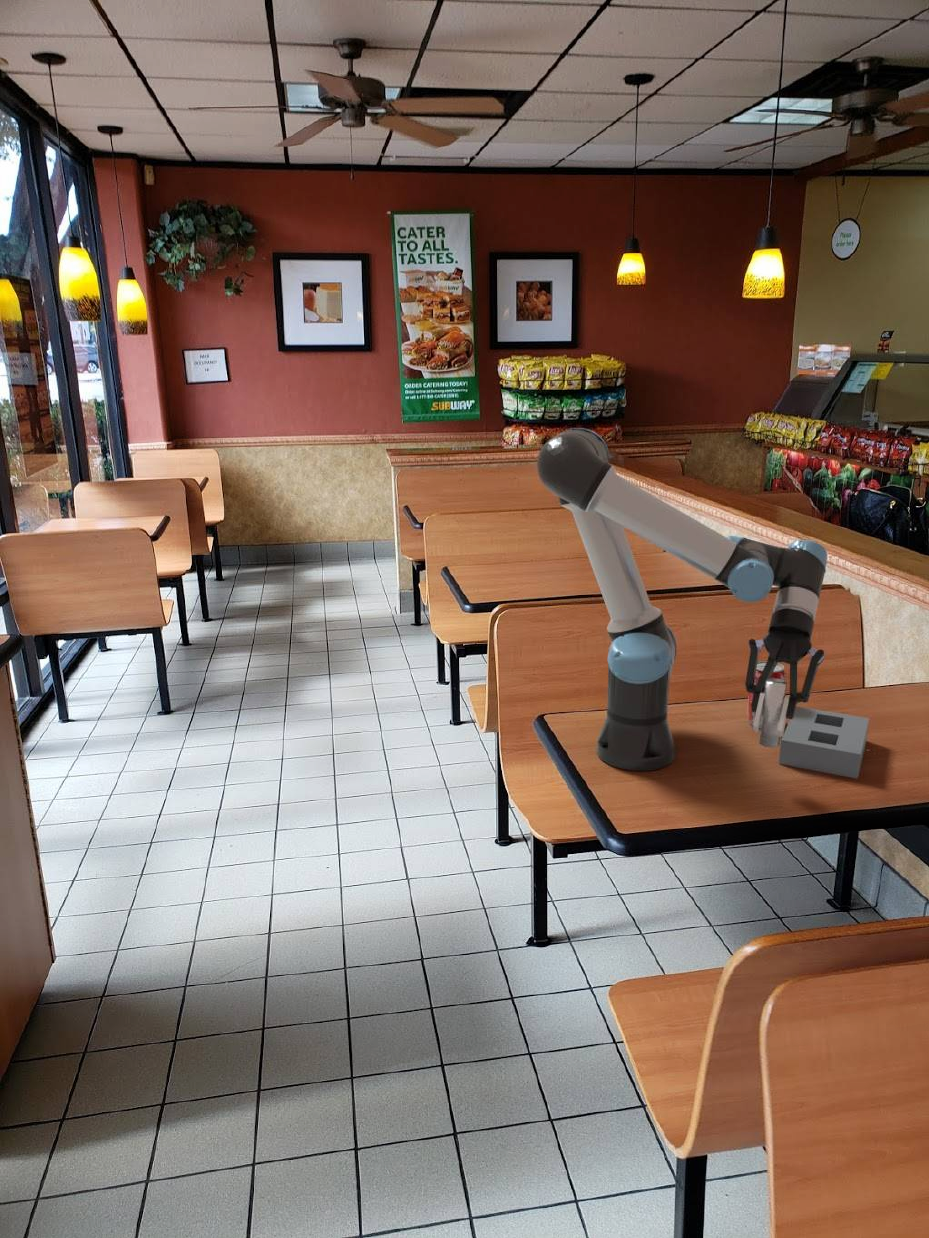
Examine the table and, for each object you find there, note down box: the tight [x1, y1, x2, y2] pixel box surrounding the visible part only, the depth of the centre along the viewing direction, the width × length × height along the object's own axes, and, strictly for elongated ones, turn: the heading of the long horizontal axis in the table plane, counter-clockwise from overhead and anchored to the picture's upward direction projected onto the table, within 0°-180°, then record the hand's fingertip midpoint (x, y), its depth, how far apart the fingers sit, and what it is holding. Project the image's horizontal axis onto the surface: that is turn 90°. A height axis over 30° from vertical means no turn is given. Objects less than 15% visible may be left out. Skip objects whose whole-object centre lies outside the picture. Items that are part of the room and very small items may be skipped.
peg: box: [758, 678, 788, 749], centre depth 157 cm, size 4×4×12 cm
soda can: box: [746, 660, 787, 729], centre depth 184 cm, size 7×7×13 cm
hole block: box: [778, 705, 870, 779], centre depth 172 cm, size 14×18×5 cm
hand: (767, 731), depth 154 cm, fingers closed on peg, 3 cm apart
